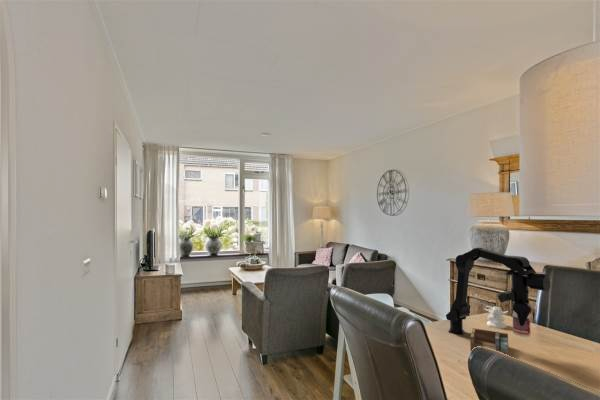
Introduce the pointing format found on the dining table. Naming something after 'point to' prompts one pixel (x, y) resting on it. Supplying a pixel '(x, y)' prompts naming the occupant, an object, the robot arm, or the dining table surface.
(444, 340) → the dining table surface
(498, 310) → the figurine
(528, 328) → the pill bottle
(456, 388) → the dining table surface
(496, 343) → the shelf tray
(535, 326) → the dining table surface
